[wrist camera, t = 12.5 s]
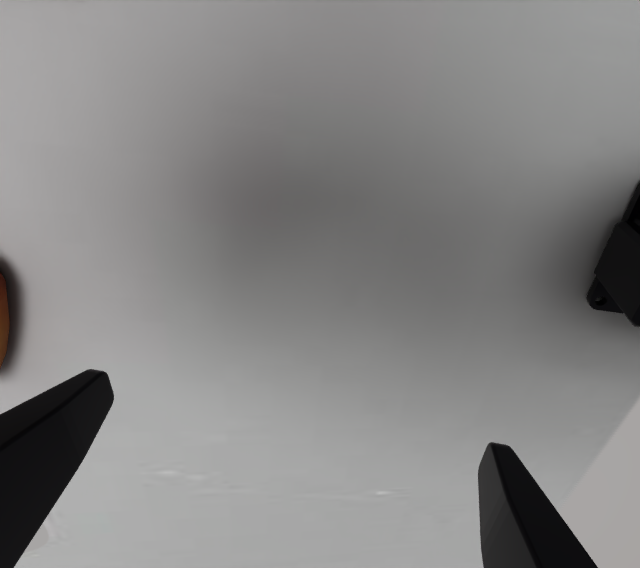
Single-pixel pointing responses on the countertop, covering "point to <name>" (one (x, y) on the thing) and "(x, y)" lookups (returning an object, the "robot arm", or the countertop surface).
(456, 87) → the countertop surface
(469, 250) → the countertop surface
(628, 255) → the robot arm
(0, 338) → the hot dog
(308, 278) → the countertop surface
